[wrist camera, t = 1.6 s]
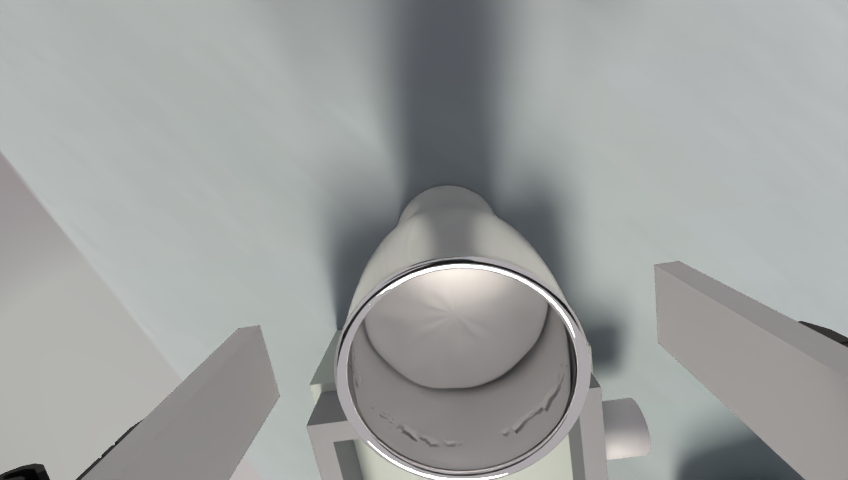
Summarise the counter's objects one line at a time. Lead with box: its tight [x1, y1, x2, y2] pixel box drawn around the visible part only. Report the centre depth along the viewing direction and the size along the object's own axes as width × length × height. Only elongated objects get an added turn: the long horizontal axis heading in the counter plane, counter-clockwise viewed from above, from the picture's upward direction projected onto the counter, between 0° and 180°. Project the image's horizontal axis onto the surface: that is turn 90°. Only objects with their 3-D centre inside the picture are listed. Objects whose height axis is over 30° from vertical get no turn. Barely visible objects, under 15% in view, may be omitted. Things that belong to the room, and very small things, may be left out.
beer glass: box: [334, 185, 591, 480], centre depth 18 cm, size 7×7×15 cm
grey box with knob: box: [307, 330, 651, 480], centre depth 24 cm, size 14×17×8 cm
